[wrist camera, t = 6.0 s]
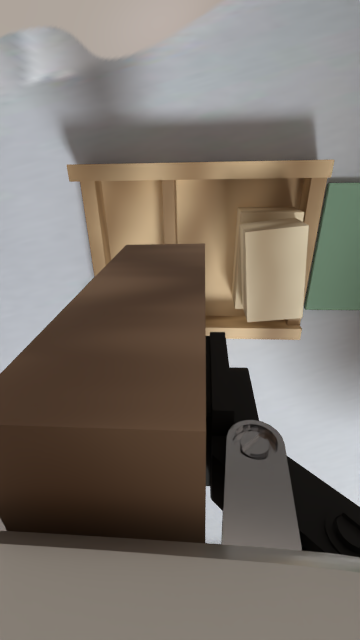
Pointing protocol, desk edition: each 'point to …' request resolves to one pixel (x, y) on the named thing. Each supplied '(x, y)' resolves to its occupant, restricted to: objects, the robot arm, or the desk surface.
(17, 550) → the robot arm
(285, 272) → the offcut top
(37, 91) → the desk surface
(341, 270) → the pad
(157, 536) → the walnut board
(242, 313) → the rack
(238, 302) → the offcut low
